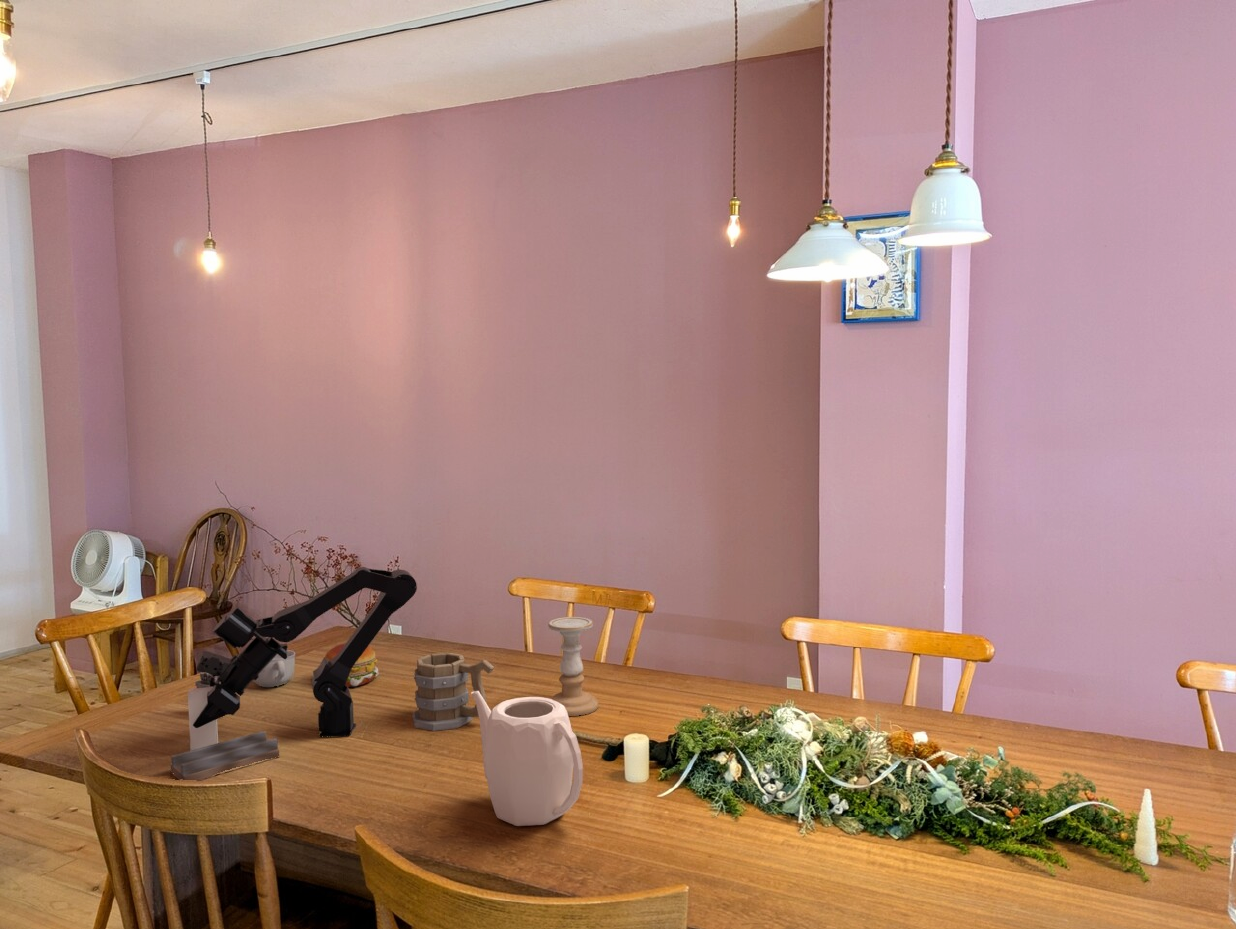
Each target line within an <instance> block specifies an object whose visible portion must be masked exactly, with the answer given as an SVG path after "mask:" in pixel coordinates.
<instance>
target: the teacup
mask: <svg viewBox="0 0 1236 929" xmlns="http://www.w3.org/2000/svg"><path fill="white" fill-rule="evenodd" d="M295 664H296V652H295V651H294V650H290V649H287V659H283V658H282V657H281V656H279V655H278V654H277V655H276V656H275V657H274V658H273V659H272V660H271V661H270V663H269V664H268V665H267V666H266V667H265V668H264V669H263V670H262V671H261V672H260V673H259V677H258V678H257V679H256V680H253V681H252V682H254V683H255V684H257V686H259V687H261V686H262V687H263V688H275V687H274V686H277V687H280V686H279V685H282V684H284V685H286V684H287V683H288V682H289V681H291V680H292V678H293V677H294V674H295V668H296V667H295V666H296V665H295ZM285 683H286V684H285ZM282 686H283V685H282Z"/></svg>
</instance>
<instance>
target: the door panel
mask: <svg viewBox="0 0 1236 929" xmlns="http://www.w3.org/2000/svg"><path fill="white" fill-rule="evenodd" d="M212 688H213V687H205V688H197V687H196V688H190V689H188V691H187V702H188V704H187V705H188V723H189V724H188V725H189V739H190V740H189V742H190V746H189V747H190V751H191V750H194V749H198V748H202V747H206V746H209V745H213V744H217V743H219V736H218V735H219V734H218V732H219V731H218V730H219V729H218V719H216V720H214V721H212V722H209V723H207V724H205V725H203V726H201V727H199V728H195V727H194V726H193V724H194V722H195V720H196V719H197V718H198V716H199V715H200V713H201V712H202V710H203V709H204V707H205V706H206V704H207V693H208V692H210V690H211V689H212Z"/></svg>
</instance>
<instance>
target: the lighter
mask: <svg viewBox="0 0 1236 929" xmlns="http://www.w3.org/2000/svg"><path fill="white" fill-rule="evenodd" d="M210 677H213V676H212V674H209V673H205V672H203V673H202V672H199V678H200V679H198V680H197V681H195V686H196V689H197V688H205V687H210ZM215 677H216V676H214V677H213V678H215Z"/></svg>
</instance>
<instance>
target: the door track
mask: <svg viewBox="0 0 1236 929" xmlns="http://www.w3.org/2000/svg"><path fill="white" fill-rule="evenodd" d="M278 756H279V757H280V750H279V748H278V739H277V738H276V737H274V738H270V739H267V732H266V731H265V730H261V731H258V732H255V733H251V734H246V735H244V736H240V737H239V736H238V737H235V738H231V739H229V740H224V741H221V742H218V743H217V744H213V745H209V746H206V747H202V748H198V749H194V750H191V749H190V750H188V751H185V752H180V753H177V754H172V755H170V757H171V760H170V761H171V762H170V763H171V764H170V772H171V771H172V773H174V775H175V776H174V777H175V778H177V779H178V780H179V779H183V780H200V781H202V780H206V779H205V778H207V779H210V778H212V777H211V776H213V775H215V774H217V773H220V772H223V771H225V770H230V769H232V768H236V767H240V766H245V765H249V764H252V763H254V762H258V761H262V760H265V759H271V758H275V757H278ZM279 757H278V758H279ZM275 759H276V758H275ZM172 773H171V774H172ZM209 777H210V778H209Z"/></svg>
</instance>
